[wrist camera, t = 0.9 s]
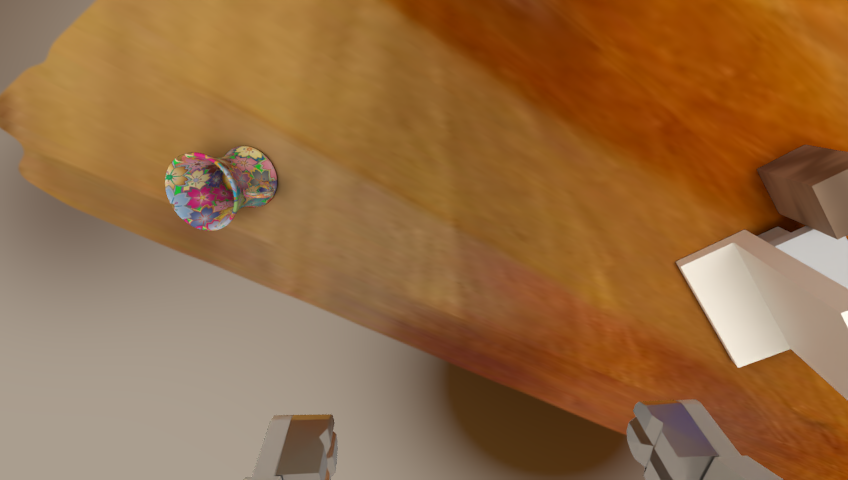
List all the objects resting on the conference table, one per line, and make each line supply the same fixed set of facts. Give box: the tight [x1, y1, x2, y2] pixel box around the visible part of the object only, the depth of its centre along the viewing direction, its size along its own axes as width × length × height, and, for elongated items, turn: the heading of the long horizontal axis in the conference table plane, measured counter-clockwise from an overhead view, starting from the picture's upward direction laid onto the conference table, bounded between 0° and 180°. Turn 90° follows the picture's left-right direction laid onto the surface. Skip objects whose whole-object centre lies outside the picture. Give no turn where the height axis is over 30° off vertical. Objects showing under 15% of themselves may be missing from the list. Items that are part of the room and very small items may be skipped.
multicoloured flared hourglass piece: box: [165, 146, 277, 231], centre depth 53 cm, size 12×9×11 cm
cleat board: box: [676, 226, 848, 400], centre depth 41 cm, size 14×16×18 cm
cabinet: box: [757, 145, 848, 240], centre depth 41 cm, size 6×6×9 cm
